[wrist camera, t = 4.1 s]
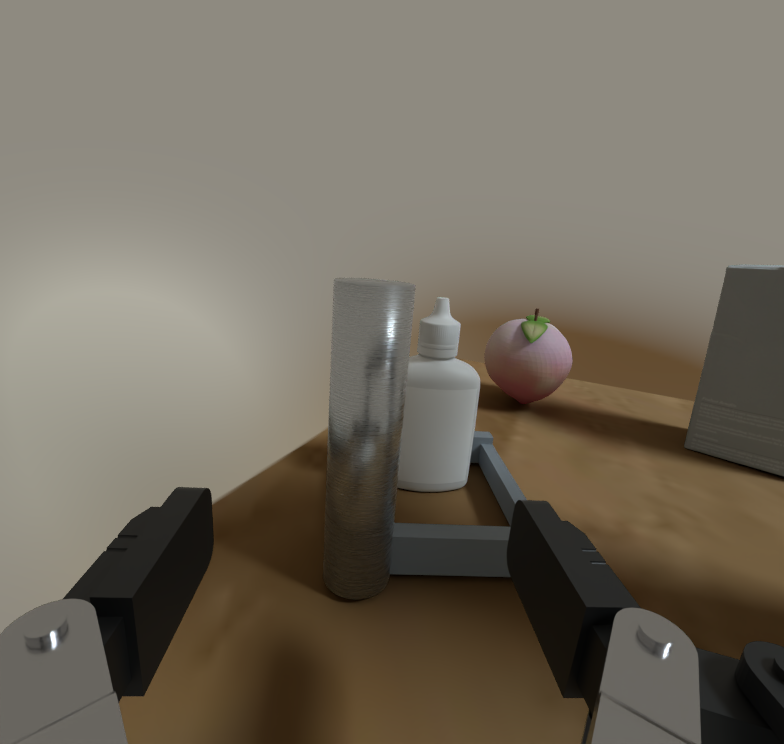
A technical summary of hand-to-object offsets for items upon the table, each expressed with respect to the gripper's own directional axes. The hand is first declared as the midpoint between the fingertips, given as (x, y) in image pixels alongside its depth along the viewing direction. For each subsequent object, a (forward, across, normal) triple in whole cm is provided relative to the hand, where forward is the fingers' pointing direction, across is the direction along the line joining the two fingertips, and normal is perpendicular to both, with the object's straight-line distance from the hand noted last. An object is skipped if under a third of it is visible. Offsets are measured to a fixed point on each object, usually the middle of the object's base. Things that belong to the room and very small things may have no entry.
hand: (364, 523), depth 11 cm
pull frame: (+12, -4, +7) cm, 15 cm away
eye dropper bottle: (+15, -4, +8) cm, 18 cm away
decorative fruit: (+31, -16, +8) cm, 36 cm away
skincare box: (+21, -32, +8) cm, 39 cm away
